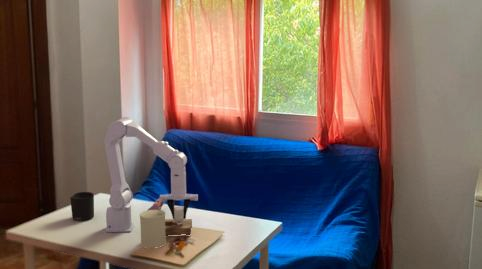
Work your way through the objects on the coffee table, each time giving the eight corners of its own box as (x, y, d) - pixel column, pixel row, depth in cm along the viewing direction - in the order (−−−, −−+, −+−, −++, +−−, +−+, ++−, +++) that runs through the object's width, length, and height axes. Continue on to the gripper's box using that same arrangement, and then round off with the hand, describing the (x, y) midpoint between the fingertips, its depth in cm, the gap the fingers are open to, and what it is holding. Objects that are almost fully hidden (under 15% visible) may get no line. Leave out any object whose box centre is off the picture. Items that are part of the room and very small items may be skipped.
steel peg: (174, 233, 196) (173, 209, 194) (175, 229, 200) (174, 206, 198) (184, 233, 196) (183, 209, 194) (185, 229, 200) (184, 206, 198)
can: (162, 249, 181) (161, 217, 178) (137, 248, 182) (136, 216, 180) (169, 239, 190) (168, 208, 187) (145, 238, 191) (144, 207, 189)
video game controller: (154, 218, 216) (160, 205, 214) (145, 213, 217) (151, 200, 215) (162, 211, 226) (168, 198, 224) (153, 206, 226) (159, 193, 224)
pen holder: (68, 217, 213) (66, 194, 212) (89, 212, 219) (87, 190, 218) (77, 223, 206) (75, 200, 204) (98, 218, 212) (97, 195, 211)
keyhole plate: (153, 236, 192) (153, 228, 192) (156, 227, 202) (156, 219, 201) (190, 236, 193) (190, 228, 192) (192, 226, 202) (191, 219, 202)
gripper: (158, 187, 190) (159, 221, 192) (196, 187, 190) (197, 221, 193) (160, 182, 197) (161, 215, 199) (197, 182, 197) (198, 215, 200)
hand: (179, 218), depth 196 cm, fingers closed on steel peg, 4 cm apart
